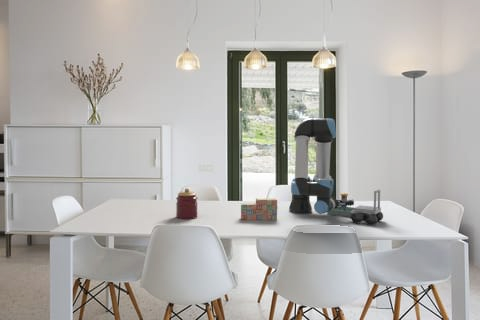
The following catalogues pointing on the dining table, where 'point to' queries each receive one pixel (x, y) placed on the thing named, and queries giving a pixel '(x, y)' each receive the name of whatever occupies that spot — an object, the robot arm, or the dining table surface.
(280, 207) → the dining table surface
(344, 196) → the stop pin
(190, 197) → the canister
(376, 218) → the trolley
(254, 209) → the stack of blocks
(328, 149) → the robot arm
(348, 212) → the tray
